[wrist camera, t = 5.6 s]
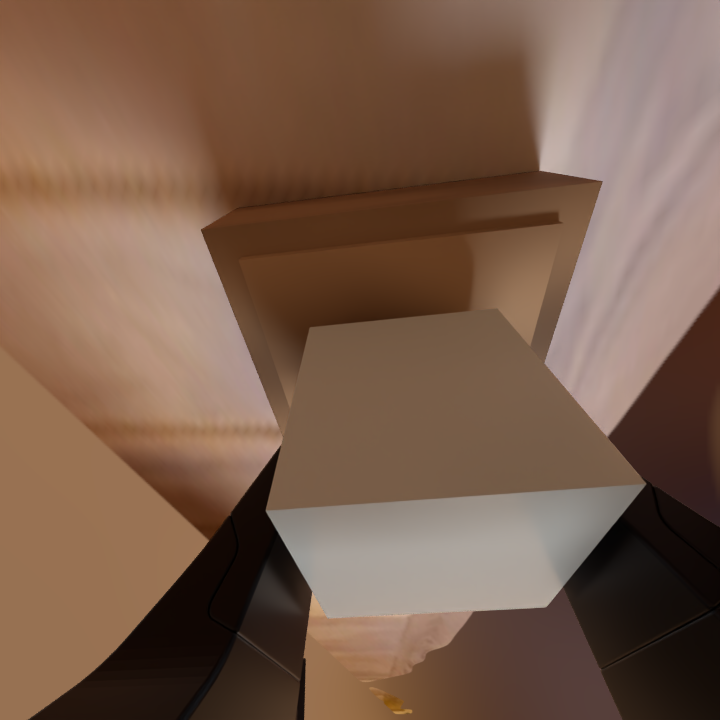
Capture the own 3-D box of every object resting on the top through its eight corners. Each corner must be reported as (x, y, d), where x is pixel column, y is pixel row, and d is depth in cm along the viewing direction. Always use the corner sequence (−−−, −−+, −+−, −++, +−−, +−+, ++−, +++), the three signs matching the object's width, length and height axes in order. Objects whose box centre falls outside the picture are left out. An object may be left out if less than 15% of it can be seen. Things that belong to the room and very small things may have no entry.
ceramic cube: (474, 433, 11) (545, 607, 7) (337, 444, 11) (327, 618, 7) (497, 308, 8) (646, 483, 4) (309, 327, 8) (265, 510, 4)
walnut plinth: (492, 397, 16) (520, 449, 13) (302, 413, 16) (292, 466, 13) (540, 170, 10) (609, 182, 7) (237, 208, 10) (196, 232, 8)
